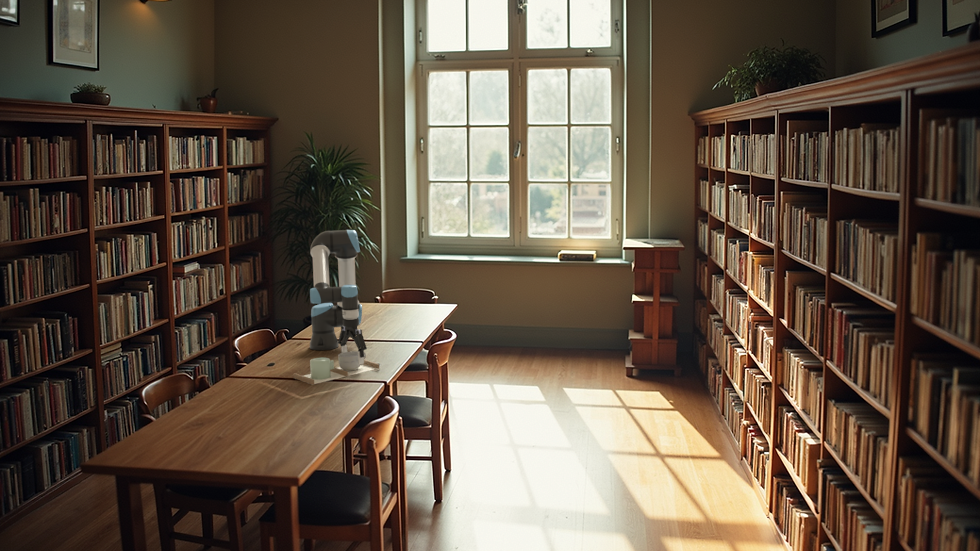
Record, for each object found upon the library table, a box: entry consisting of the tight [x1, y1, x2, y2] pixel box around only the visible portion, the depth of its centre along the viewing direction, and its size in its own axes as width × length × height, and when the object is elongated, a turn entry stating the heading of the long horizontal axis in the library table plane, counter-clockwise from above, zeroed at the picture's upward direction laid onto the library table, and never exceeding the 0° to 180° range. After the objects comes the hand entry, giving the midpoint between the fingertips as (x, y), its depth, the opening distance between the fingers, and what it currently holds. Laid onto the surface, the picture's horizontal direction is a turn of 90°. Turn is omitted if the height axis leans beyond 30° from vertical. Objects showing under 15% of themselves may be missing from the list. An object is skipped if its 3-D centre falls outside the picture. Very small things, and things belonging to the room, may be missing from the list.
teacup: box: [337, 350, 367, 371], centre depth 399 cm, size 14×11×8 cm
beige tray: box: [293, 359, 381, 386], centre depth 393 cm, size 16×37×3 cm, turn 134°
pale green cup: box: [309, 357, 335, 380], centre depth 387 cm, size 9×12×8 cm
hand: (352, 361), depth 399 cm, fingers open, 13 cm apart
